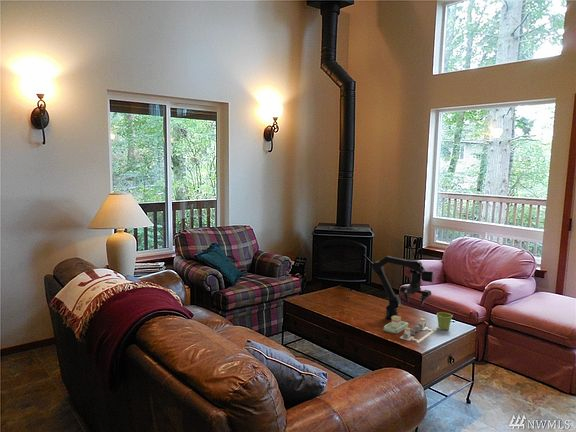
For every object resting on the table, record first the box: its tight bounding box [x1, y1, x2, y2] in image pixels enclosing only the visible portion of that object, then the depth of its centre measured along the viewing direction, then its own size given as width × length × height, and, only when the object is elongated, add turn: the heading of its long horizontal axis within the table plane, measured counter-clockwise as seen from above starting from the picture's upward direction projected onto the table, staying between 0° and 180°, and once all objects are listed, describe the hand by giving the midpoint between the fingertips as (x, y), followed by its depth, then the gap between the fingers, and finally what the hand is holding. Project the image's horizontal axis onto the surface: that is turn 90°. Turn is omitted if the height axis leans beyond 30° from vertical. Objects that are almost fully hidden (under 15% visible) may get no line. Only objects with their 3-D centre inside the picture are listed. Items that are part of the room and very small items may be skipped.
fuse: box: [390, 315, 402, 329], centre depth 252 cm, size 4×4×7 cm
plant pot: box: [436, 311, 453, 331], centre depth 254 cm, size 9×9×9 cm
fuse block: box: [399, 317, 437, 345], centre depth 244 cm, size 11×27×6 cm, turn 139°
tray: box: [382, 320, 410, 335], centre depth 253 cm, size 9×17×2 cm, turn 139°
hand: (414, 304), depth 263 cm, fingers open, 9 cm apart
